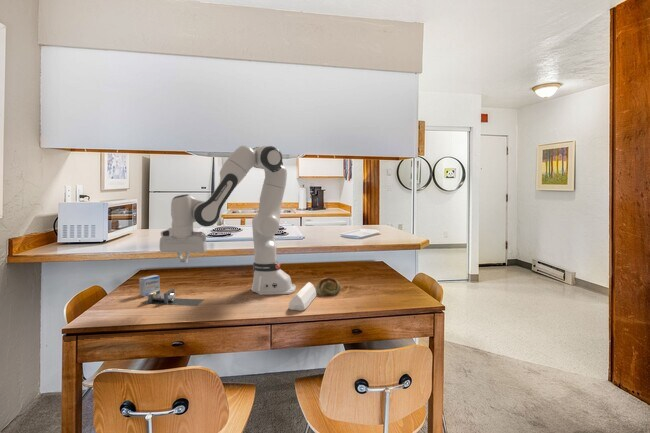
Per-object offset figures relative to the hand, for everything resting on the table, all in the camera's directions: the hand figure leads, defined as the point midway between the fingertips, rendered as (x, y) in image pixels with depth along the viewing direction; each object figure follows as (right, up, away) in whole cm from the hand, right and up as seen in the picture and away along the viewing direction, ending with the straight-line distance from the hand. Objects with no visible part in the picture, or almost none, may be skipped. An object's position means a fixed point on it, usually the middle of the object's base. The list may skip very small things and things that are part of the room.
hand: (183, 262), depth 159 cm
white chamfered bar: (+53, -19, +4) cm, 56 cm away
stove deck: (-5, -18, +2) cm, 19 cm away
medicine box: (-22, -17, +13) cm, 31 cm away
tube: (-11, -18, +3) cm, 21 cm away
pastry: (+65, -18, +21) cm, 70 cm away
